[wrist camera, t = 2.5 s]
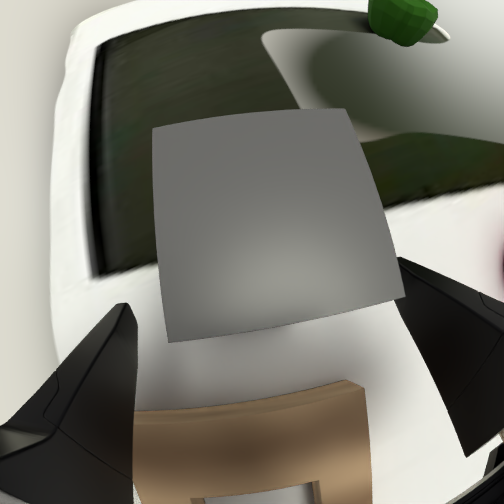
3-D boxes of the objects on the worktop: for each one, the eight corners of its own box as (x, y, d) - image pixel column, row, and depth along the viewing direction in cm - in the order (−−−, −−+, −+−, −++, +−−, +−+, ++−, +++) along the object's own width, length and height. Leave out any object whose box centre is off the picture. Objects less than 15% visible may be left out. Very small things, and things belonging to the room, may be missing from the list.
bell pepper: (350, 14, 27) (368, -41, 17) (399, 25, 28) (421, -24, 18) (376, 48, 25) (403, -15, 15) (427, 59, 26) (458, 7, 16)
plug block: (292, 317, 18) (405, 296, 5) (220, 330, 17) (168, 343, 5) (279, 247, 19) (344, 108, 6) (209, 258, 18) (152, 128, 6)
